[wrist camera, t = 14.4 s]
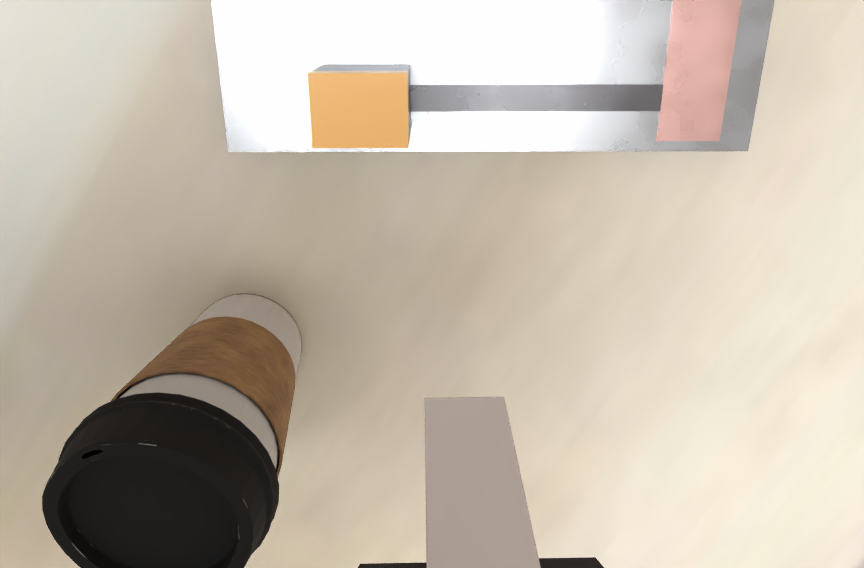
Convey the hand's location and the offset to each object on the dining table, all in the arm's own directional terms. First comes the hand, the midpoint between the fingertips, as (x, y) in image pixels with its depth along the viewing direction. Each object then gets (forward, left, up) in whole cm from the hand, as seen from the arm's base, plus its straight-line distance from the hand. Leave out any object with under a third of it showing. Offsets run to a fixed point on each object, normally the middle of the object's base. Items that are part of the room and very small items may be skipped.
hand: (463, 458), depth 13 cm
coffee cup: (-11, -9, -24) cm, 27 cm away
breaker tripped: (-4, +4, -21) cm, 22 cm away
